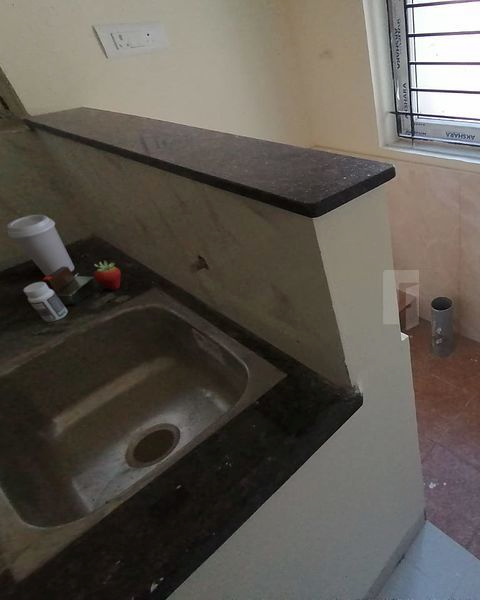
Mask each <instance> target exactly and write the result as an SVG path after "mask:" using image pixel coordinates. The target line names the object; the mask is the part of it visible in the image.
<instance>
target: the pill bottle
mask: <svg viewBox="0 0 480 600" xmlns="http://www.w3.org/2000/svg"><path fill="white" fill-rule="evenodd" d="M23 293H24V294H25V295H26V296H27V301H28V303H30V305H31V306H32V307H33V309H34V310H35V311H36V312H37V314H38V315H39V316H40V317H41V318H42V320H43V321H44V322H45V323H46V322H47V323H52V322H56V321H59V320H61V319H63V318H65V317H66V316H67V314H68V312H69V311H68V309H67V308H66V305H63V303H62V302H61V301H60V299H59V298H58V297H57V295H56V294H55V292H54V291H53V290H52V289H49V287H48V286H47V285H46V283H44V282H43V281H37V282H33V283H30V284H29V285H26V286H25V287H24V288H23Z"/></svg>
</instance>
